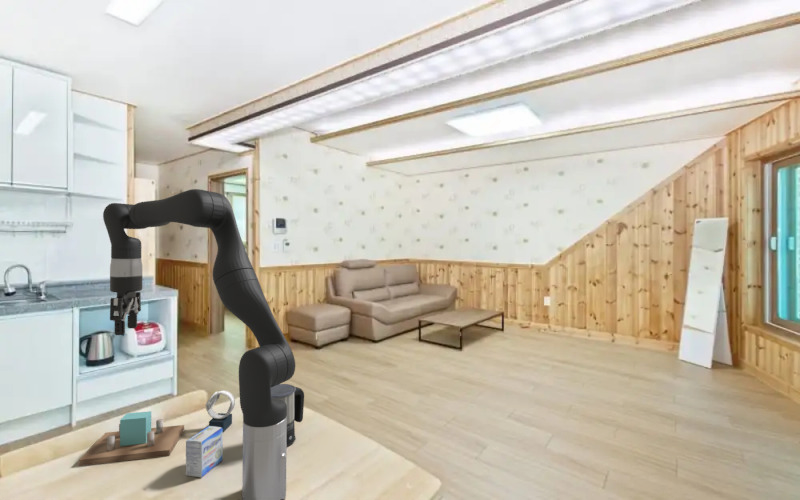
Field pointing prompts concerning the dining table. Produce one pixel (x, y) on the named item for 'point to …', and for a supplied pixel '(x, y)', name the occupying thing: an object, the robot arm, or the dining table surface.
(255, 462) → the robot arm
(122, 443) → the block
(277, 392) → the milk frother
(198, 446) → the medicine box
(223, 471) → the dining table surface
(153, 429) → the stub board
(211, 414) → the silver ring on block
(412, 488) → the dining table surface
